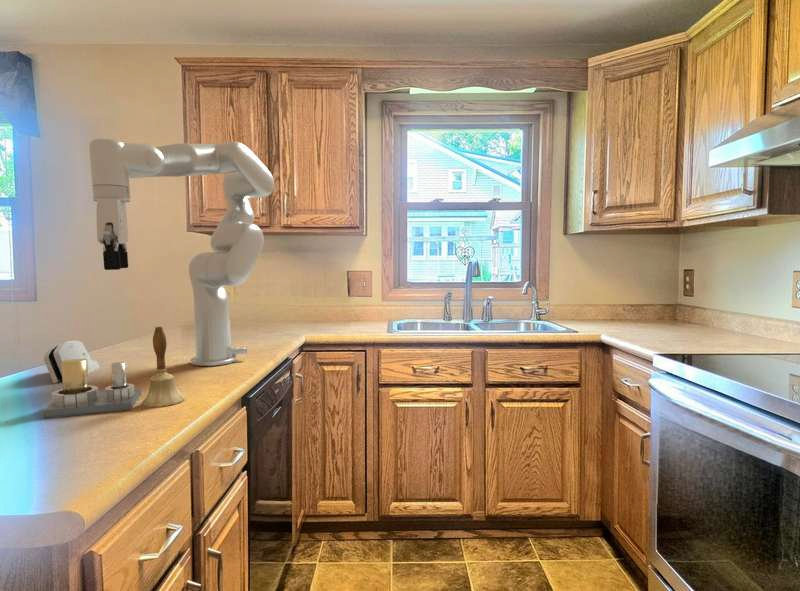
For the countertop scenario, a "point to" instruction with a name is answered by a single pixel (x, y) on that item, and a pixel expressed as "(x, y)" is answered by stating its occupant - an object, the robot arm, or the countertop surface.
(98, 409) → the plate
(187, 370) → the countertop surface
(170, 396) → the hand bell
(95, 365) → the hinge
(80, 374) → the brass nipple
